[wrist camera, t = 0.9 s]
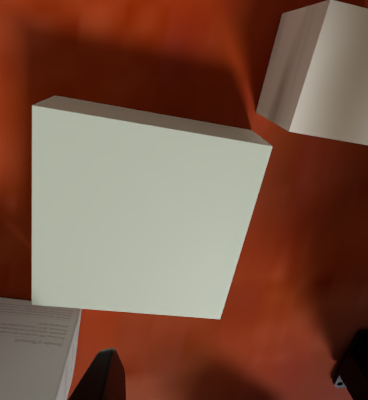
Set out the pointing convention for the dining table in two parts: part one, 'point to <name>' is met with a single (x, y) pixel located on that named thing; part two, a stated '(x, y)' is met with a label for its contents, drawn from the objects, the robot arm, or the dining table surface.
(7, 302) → the supplement box
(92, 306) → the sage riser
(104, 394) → the robot arm
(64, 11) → the dining table surface
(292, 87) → the cream block
